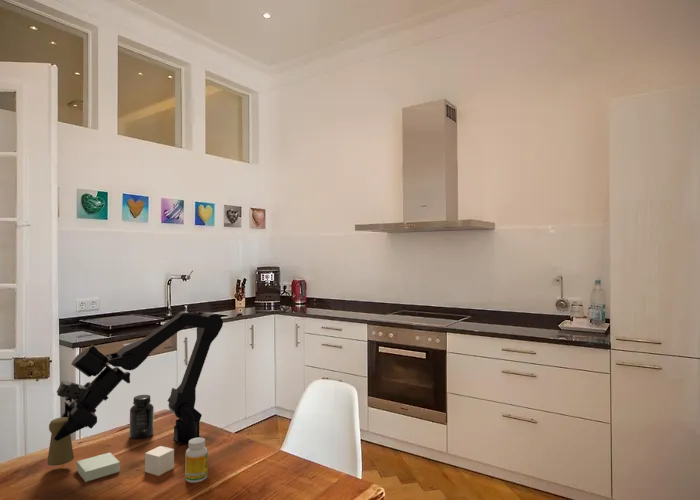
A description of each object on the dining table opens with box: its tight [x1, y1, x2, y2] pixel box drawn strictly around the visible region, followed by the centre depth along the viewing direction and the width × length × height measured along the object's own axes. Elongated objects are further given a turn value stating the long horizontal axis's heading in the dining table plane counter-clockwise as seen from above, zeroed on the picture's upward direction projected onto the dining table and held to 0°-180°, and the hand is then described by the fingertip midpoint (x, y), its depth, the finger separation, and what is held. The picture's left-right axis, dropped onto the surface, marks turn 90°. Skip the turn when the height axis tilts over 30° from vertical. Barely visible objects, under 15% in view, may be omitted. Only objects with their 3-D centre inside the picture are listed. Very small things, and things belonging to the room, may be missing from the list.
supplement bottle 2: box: [184, 437, 209, 484], centre depth 117 cm, size 5×5×10 cm
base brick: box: [76, 452, 121, 483], centre depth 120 cm, size 8×8×2 cm
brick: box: [144, 445, 175, 477], centre depth 121 cm, size 5×5×5 cm
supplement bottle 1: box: [129, 394, 155, 440], centre depth 144 cm, size 7×7×12 cm
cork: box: [46, 416, 75, 467], centre depth 121 cm, size 6×6×11 cm
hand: (54, 436), depth 120 cm, fingers closed on cork, 5 cm apart
